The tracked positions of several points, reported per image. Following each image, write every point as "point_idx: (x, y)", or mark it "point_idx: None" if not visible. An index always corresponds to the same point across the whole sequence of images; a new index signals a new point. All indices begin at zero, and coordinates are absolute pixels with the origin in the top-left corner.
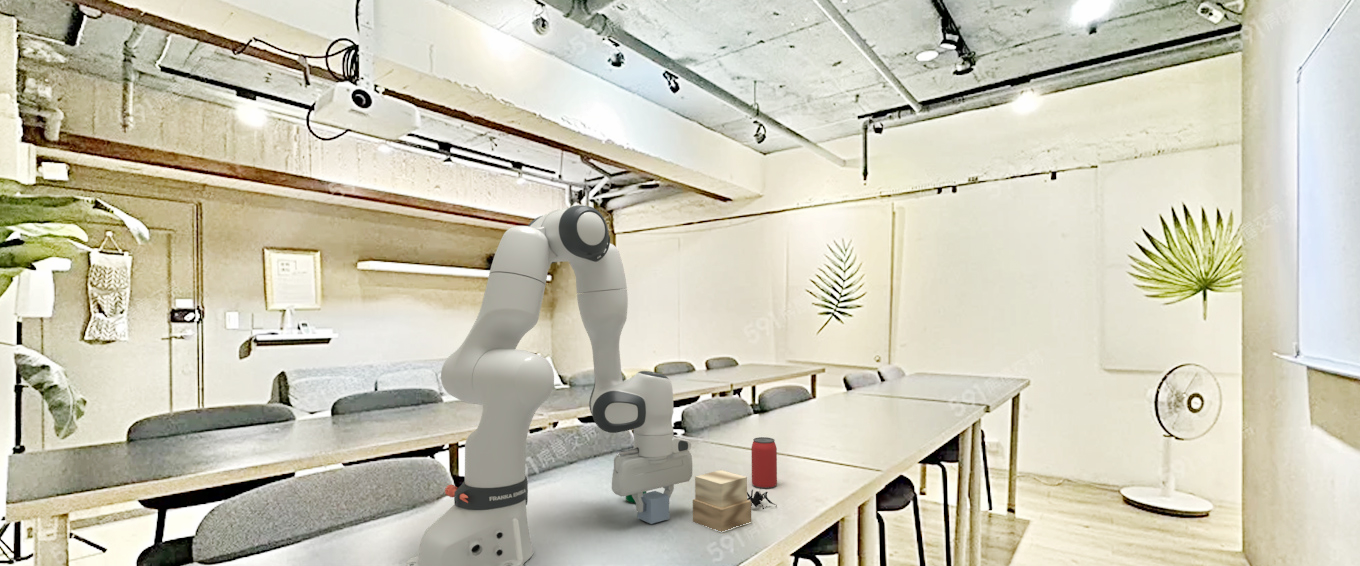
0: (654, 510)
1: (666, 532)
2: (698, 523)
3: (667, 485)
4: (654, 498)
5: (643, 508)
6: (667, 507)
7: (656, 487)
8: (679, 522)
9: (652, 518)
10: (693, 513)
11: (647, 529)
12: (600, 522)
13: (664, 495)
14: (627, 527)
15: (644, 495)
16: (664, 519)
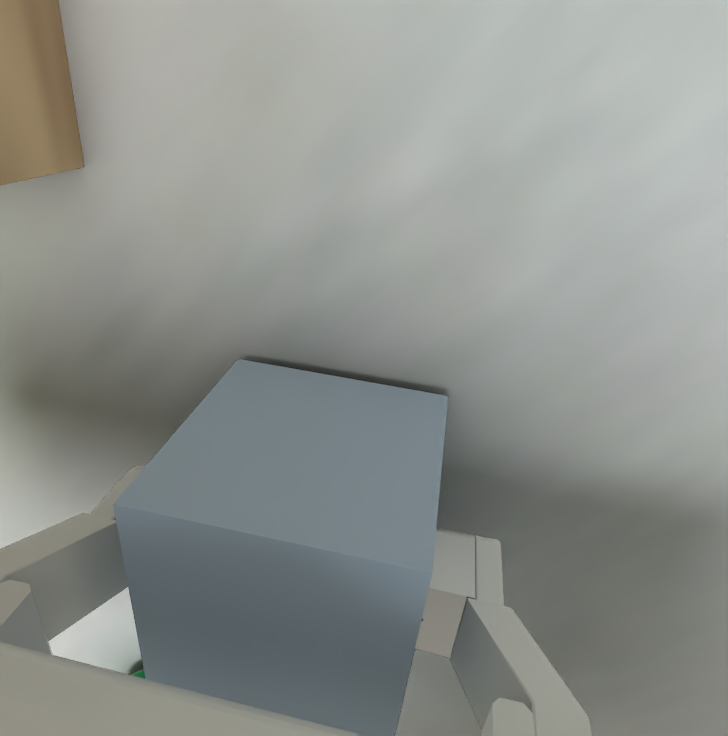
0: (392, 461)
1: (491, 151)
2: (65, 70)
3: (17, 655)
4: (339, 579)
5: (470, 558)
6: (210, 422)
7: (241, 724)
8: (200, 251)
9: (427, 419)
10: (19, 168)
11: (542, 355)
12: (633, 679)
13: (156, 551)
14: (607, 504)
15: (348, 699)
16: (288, 371)
